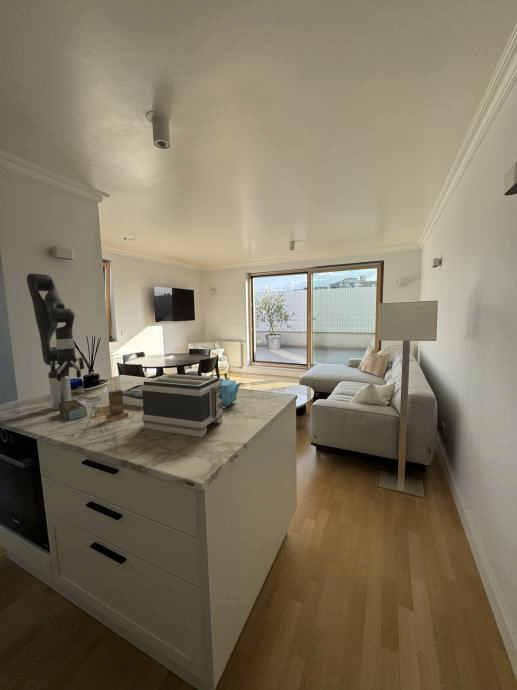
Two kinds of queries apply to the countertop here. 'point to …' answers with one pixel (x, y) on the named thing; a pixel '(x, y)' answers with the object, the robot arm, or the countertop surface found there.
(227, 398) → the teakettle
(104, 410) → the oak rack
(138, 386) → the food packaging
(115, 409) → the brown wooden block
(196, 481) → the countertop surface
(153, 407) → the toaster
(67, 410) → the beverage carton
